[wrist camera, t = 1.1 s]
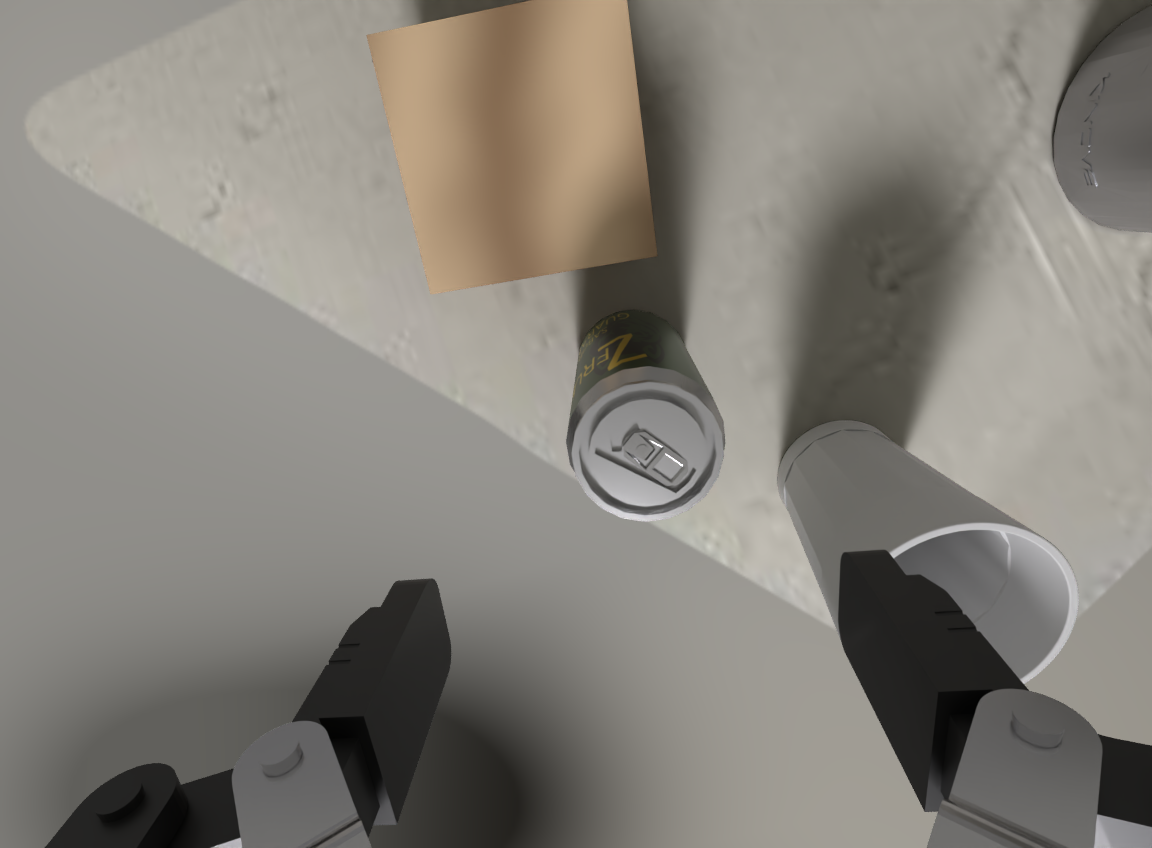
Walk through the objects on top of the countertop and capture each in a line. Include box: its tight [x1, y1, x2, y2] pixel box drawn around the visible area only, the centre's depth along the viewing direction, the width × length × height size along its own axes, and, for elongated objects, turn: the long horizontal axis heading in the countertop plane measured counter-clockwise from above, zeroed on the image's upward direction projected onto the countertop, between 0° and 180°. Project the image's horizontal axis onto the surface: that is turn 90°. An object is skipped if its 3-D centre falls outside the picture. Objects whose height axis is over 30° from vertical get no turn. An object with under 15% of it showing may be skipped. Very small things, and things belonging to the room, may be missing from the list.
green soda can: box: [566, 310, 725, 522], centre depth 26 cm, size 5×5×12 cm
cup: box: [777, 420, 1079, 684], centre depth 27 cm, size 8×8×12 cm
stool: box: [367, 0, 658, 294], centre depth 25 cm, size 9×9×6 cm
